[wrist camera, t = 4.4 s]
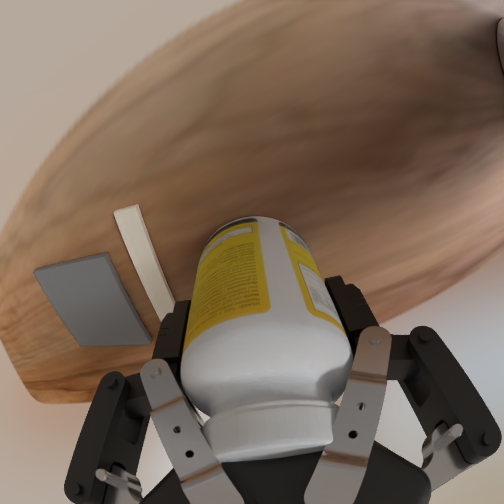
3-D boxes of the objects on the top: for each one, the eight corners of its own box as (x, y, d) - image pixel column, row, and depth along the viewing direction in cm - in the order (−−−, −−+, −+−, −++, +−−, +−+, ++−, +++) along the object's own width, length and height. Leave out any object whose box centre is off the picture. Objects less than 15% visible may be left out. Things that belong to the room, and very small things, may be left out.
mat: (107, 252, 15) (104, 256, 15) (152, 339, 19) (150, 344, 19) (36, 268, 16) (32, 272, 15) (82, 342, 20) (80, 346, 19)
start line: (138, 203, 14) (135, 206, 14) (192, 340, 20) (192, 344, 19) (115, 210, 14) (113, 212, 14) (174, 342, 20) (173, 345, 19)
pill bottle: (183, 278, 17) (146, 467, 7) (234, 190, 14) (229, 412, 4) (271, 316, 19) (294, 483, 9) (329, 244, 16) (419, 425, 6)
